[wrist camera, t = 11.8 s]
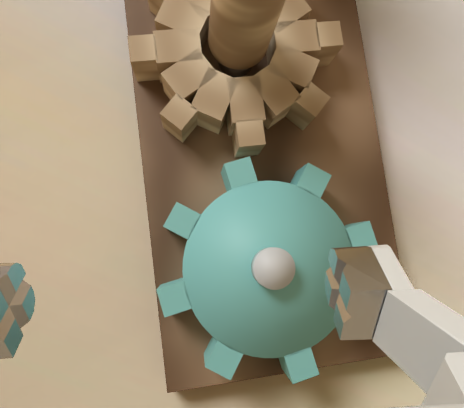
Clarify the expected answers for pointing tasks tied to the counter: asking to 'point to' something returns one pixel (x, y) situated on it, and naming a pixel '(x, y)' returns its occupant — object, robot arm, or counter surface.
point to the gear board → (266, 169)
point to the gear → (260, 268)
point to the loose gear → (235, 65)
